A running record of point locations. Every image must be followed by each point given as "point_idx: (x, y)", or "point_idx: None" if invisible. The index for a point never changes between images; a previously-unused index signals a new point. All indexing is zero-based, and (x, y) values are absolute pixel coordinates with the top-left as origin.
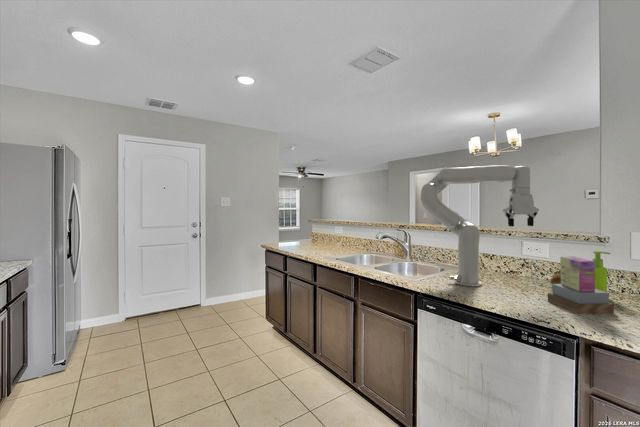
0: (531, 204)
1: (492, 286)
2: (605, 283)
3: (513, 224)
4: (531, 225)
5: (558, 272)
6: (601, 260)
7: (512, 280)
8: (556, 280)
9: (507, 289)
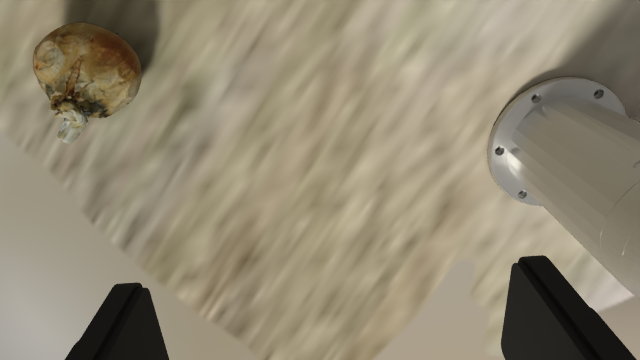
0: None
1: (462, 86)
2: None
3: (543, 276)
4: (146, 293)
5: (67, 95)
6: None
7: (280, 202)
8: (121, 44)
9: (420, 23)
